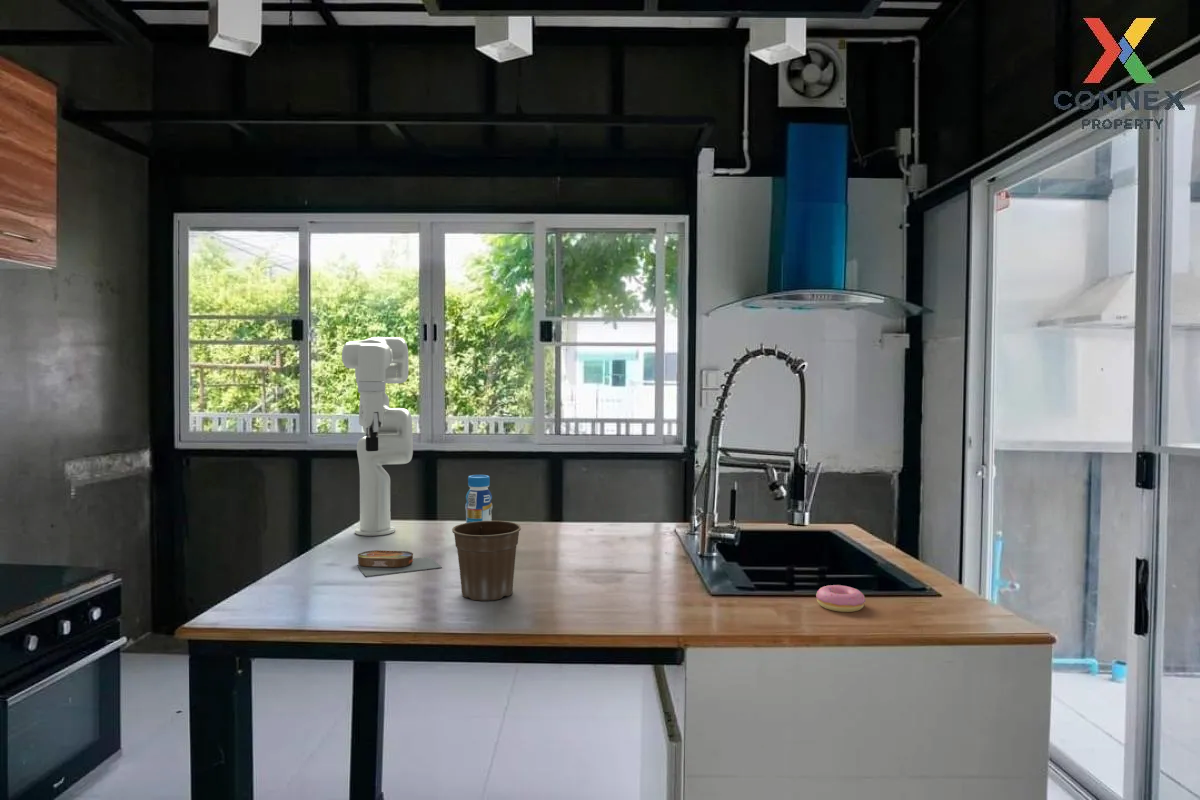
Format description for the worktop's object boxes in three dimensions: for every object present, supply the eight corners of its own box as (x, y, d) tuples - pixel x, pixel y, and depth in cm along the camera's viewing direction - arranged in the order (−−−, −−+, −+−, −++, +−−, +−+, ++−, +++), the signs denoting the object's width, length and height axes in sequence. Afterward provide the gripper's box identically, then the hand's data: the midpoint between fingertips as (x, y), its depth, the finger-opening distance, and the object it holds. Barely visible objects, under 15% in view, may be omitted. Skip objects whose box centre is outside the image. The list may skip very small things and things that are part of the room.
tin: (417, 551, 209) (406, 556, 200) (417, 562, 209) (406, 568, 200) (365, 549, 210) (352, 555, 202) (365, 561, 210) (352, 566, 202)
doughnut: (833, 616, 168) (833, 597, 167) (806, 601, 178) (806, 584, 178) (875, 612, 171) (875, 594, 171) (846, 597, 181) (846, 580, 181)
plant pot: (454, 606, 171) (454, 536, 170) (449, 586, 186) (449, 521, 186) (525, 601, 175) (526, 532, 174) (514, 582, 191) (515, 519, 190)
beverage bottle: (462, 537, 239) (462, 474, 238) (487, 535, 243) (488, 473, 242) (469, 543, 232) (469, 478, 231) (495, 540, 235) (495, 477, 234)
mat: (357, 565, 204) (357, 564, 204) (429, 557, 214) (429, 556, 214) (365, 577, 194) (365, 575, 194) (441, 568, 203) (441, 566, 203)
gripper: (352, 386, 221) (353, 448, 222) (364, 389, 208) (364, 455, 209) (378, 385, 224) (378, 446, 226) (391, 389, 211) (391, 453, 213)
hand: (372, 450), depth 217 cm, fingers closed
